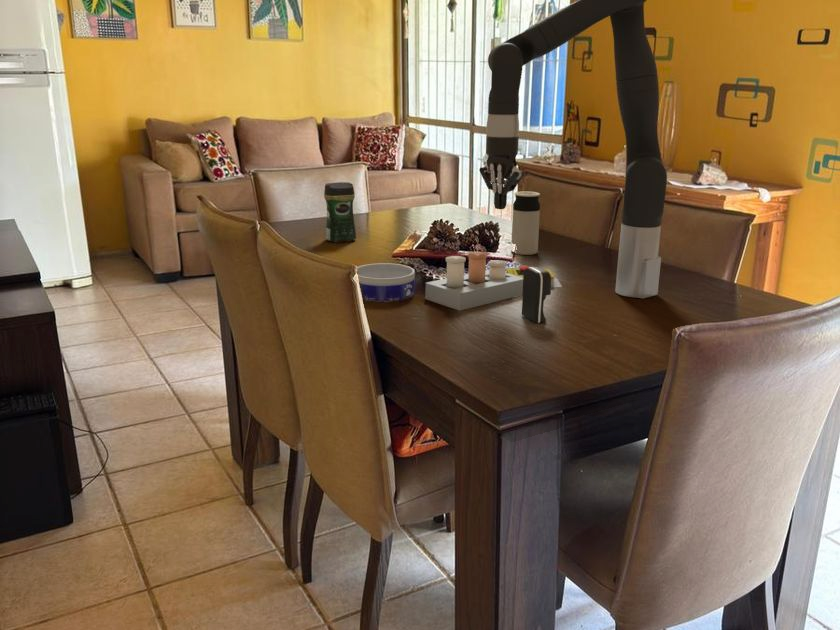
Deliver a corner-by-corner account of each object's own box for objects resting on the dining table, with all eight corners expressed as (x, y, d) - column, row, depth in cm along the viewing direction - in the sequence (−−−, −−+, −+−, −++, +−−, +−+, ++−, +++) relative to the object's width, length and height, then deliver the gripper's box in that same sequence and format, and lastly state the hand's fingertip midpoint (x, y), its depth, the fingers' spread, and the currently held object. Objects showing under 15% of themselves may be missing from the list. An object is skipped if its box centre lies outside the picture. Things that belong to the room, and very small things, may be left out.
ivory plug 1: (468, 287, 178) (469, 258, 176) (454, 291, 176) (455, 261, 174) (455, 283, 182) (456, 255, 180) (441, 286, 179) (441, 257, 177)
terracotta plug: (490, 283, 183) (491, 254, 181) (476, 286, 180) (477, 257, 178) (476, 279, 186) (477, 251, 184) (463, 282, 183) (463, 253, 181)
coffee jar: (352, 237, 251) (351, 180, 245) (358, 241, 243) (357, 183, 238) (323, 238, 248) (321, 181, 242) (328, 243, 240) (326, 184, 235)
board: (525, 294, 186) (526, 278, 185) (459, 310, 173) (459, 293, 172) (491, 284, 195) (491, 269, 194) (425, 298, 182) (425, 282, 181)
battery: (551, 322, 165) (554, 271, 162) (535, 324, 164) (538, 273, 160) (535, 313, 171) (538, 264, 168) (520, 315, 170) (523, 265, 166)
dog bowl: (401, 306, 177) (401, 280, 175) (341, 299, 182) (340, 274, 180) (423, 289, 190) (423, 266, 189) (367, 283, 195) (367, 260, 194)
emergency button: (500, 263, 200) (557, 264, 200) (499, 279, 202) (556, 280, 202) (504, 272, 192) (563, 272, 192) (503, 288, 193) (562, 289, 193)
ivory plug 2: (509, 290, 188) (511, 262, 186) (496, 293, 185) (497, 265, 183) (496, 286, 191) (497, 259, 189) (483, 289, 188) (484, 262, 186)
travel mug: (525, 256, 225) (528, 195, 220) (505, 252, 231) (508, 192, 226) (542, 253, 230) (546, 193, 225) (523, 248, 236) (525, 190, 231)
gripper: (534, 135, 174) (531, 210, 179) (493, 132, 184) (491, 203, 189) (512, 136, 170) (509, 214, 175) (471, 133, 179) (469, 206, 185)
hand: (499, 208), depth 182 cm, fingers closed
